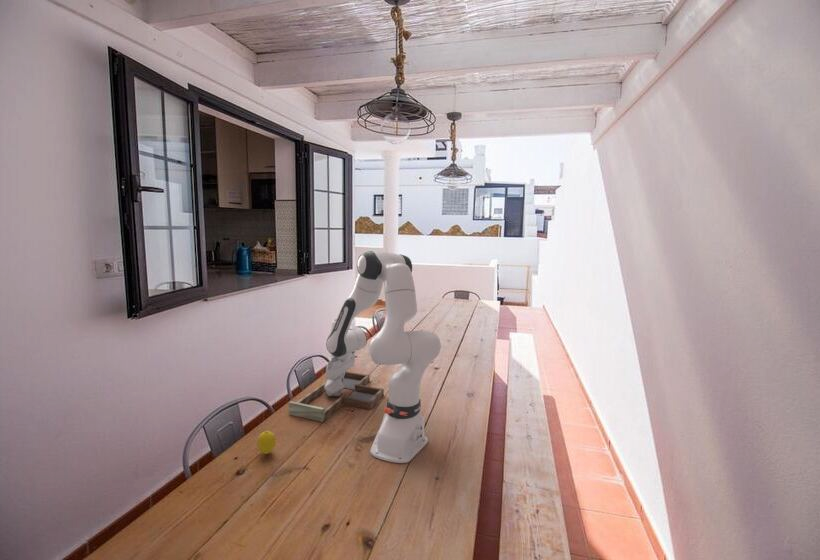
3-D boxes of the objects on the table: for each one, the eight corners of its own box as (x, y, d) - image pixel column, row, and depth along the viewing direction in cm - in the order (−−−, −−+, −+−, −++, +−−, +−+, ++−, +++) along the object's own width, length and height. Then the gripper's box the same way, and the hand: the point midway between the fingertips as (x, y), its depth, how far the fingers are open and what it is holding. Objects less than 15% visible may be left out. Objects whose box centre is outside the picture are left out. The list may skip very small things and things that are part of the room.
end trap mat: (354, 390, 174) (354, 389, 174) (331, 386, 178) (331, 385, 178) (364, 381, 184) (364, 381, 184) (342, 378, 188) (342, 377, 188)
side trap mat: (368, 406, 159) (368, 406, 159) (343, 402, 162) (343, 401, 162) (378, 396, 169) (378, 395, 169) (355, 391, 173) (355, 391, 173)
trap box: (351, 428, 142) (352, 415, 141) (288, 414, 150) (288, 402, 150) (393, 385, 181) (393, 375, 181) (341, 376, 190) (341, 366, 190)
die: (335, 402, 163) (347, 383, 165) (318, 391, 164) (331, 372, 165) (337, 400, 171) (349, 382, 173) (321, 390, 172) (333, 371, 174)
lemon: (265, 461, 120) (264, 437, 119) (254, 455, 123) (253, 432, 122) (279, 452, 125) (278, 429, 124) (268, 447, 128) (267, 424, 127)
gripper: (335, 361, 160) (334, 392, 162) (357, 347, 180) (356, 375, 181) (322, 359, 162) (322, 389, 164) (345, 345, 182) (345, 373, 183)
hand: (340, 382), depth 173 cm, fingers closed
